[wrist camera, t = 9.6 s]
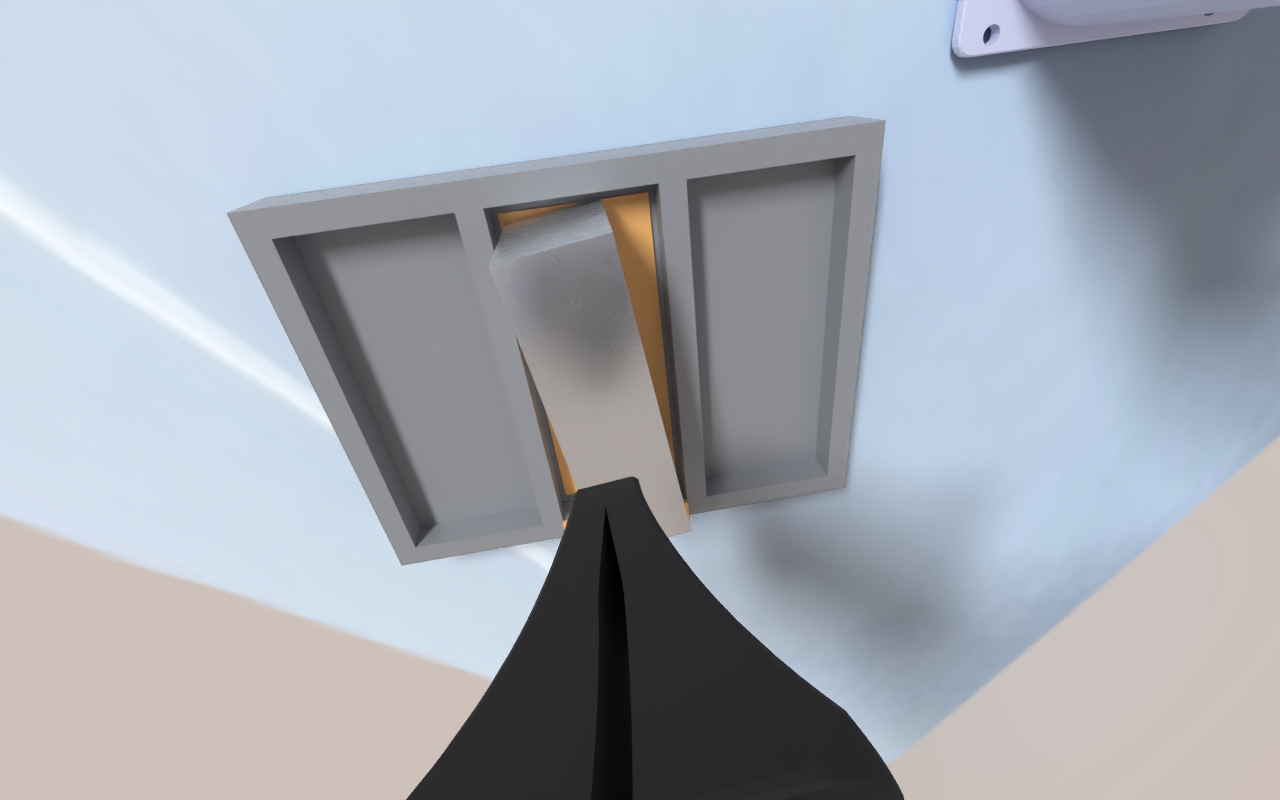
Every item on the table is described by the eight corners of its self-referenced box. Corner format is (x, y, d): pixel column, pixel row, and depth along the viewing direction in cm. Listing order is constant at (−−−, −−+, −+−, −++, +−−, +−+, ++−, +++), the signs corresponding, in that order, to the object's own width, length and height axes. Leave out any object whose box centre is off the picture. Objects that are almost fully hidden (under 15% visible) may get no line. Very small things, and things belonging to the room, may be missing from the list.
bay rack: (849, 116, 17) (889, 120, 15) (822, 456, 24) (846, 491, 22) (265, 198, 16) (222, 214, 14) (415, 527, 23) (400, 570, 21)
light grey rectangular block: (600, 196, 16) (612, 231, 12) (667, 450, 22) (691, 531, 18) (505, 223, 16) (488, 266, 13) (595, 470, 22) (603, 554, 18)
